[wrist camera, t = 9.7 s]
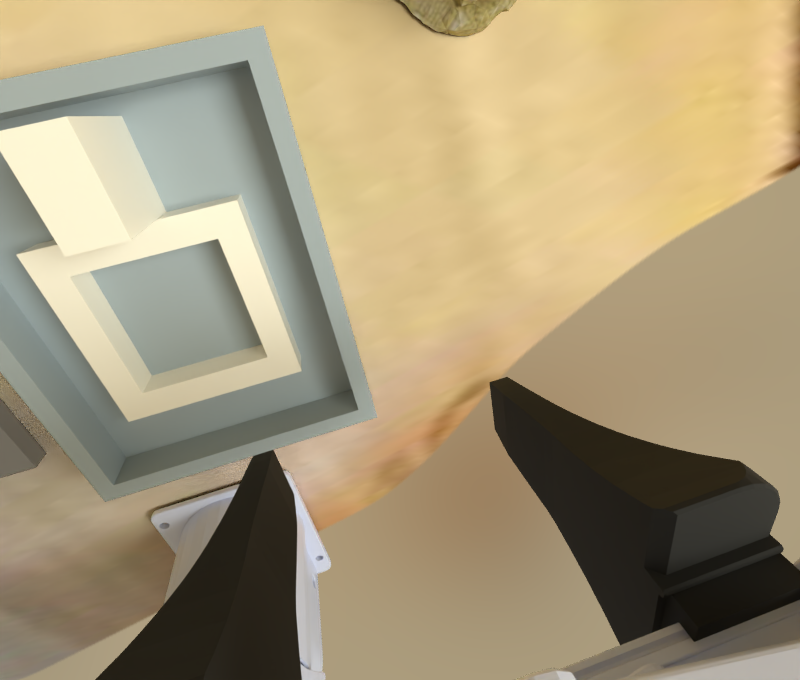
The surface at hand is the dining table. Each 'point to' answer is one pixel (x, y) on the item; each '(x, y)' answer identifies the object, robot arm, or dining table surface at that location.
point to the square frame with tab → (130, 240)
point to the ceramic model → (457, 14)
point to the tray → (182, 268)
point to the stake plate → (16, 445)
